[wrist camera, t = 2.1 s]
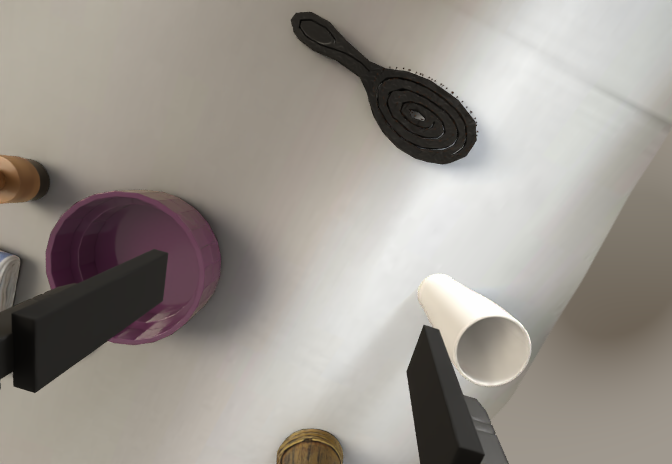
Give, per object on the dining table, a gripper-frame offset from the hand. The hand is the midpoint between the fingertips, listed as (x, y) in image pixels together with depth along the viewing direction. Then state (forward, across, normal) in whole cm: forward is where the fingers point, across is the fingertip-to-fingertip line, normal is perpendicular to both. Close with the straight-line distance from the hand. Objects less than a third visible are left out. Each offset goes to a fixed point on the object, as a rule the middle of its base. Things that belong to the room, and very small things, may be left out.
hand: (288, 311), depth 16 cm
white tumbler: (+26, +15, -7) cm, 31 cm away
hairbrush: (+28, +1, +15) cm, 32 cm away
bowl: (+22, -21, -11) cm, 33 cm away
